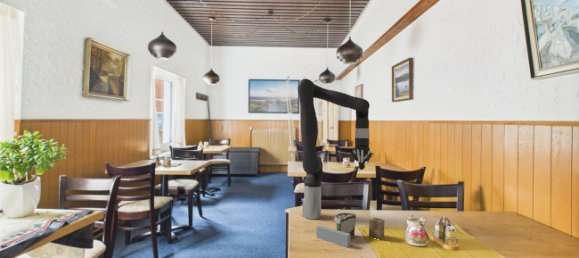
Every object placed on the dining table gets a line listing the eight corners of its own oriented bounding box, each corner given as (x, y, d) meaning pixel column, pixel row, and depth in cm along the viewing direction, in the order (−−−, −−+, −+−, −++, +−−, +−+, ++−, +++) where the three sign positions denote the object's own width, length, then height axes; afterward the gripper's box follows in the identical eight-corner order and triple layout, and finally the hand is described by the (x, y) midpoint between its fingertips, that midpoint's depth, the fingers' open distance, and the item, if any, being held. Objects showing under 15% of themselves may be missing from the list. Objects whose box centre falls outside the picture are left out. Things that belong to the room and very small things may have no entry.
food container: (345, 231, 142) (345, 210, 141) (356, 235, 137) (356, 213, 137) (328, 238, 133) (328, 216, 133) (339, 242, 129) (339, 219, 129)
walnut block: (368, 237, 135) (369, 219, 134) (374, 234, 138) (374, 217, 138) (379, 240, 131) (379, 222, 131) (384, 237, 135) (384, 219, 135)
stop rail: (316, 237, 134) (316, 226, 134) (319, 235, 136) (319, 225, 136) (347, 247, 124) (347, 235, 123) (350, 245, 125) (350, 234, 125)
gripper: (347, 136, 159) (347, 168, 160) (370, 137, 150) (369, 171, 151) (354, 136, 165) (354, 167, 165) (376, 137, 156) (376, 170, 156)
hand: (361, 169), depth 158 cm, fingers closed
